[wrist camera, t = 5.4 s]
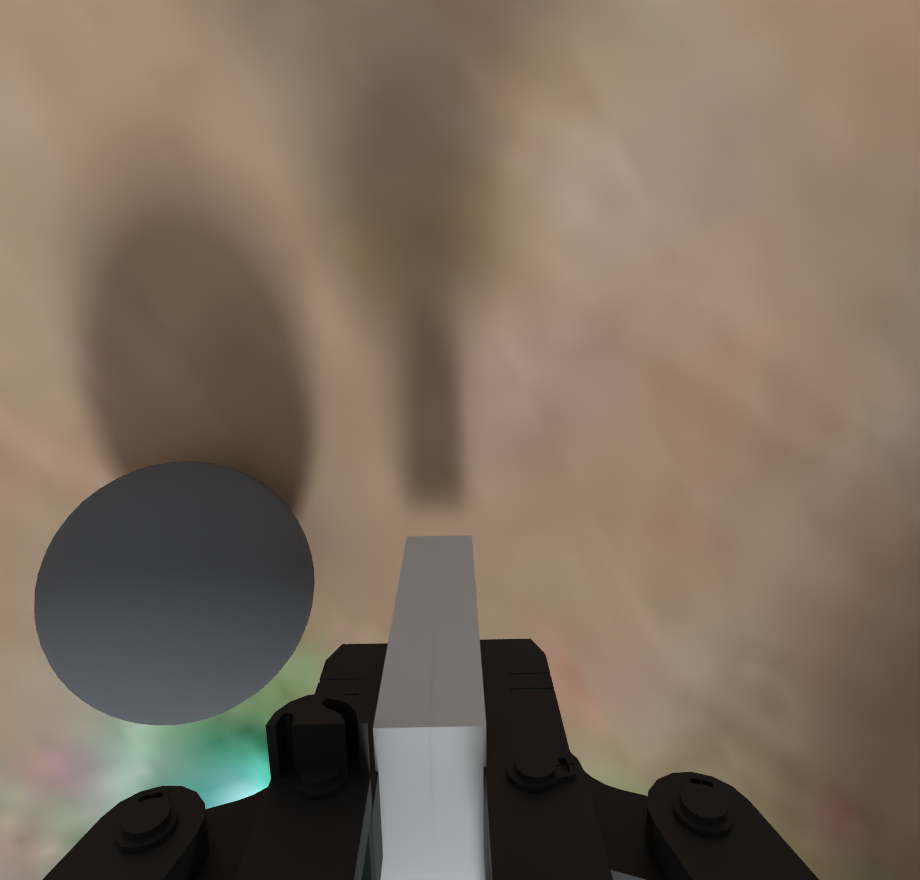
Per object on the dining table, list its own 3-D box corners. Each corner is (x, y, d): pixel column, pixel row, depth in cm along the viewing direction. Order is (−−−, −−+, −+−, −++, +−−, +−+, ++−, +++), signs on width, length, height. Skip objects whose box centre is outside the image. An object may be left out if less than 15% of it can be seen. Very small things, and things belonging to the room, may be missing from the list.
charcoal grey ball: (-30, 499, 10) (81, 437, 15) (-11, 805, 11) (87, 649, 16) (322, 499, 12) (314, 443, 17) (313, 771, 13) (308, 638, 18)
